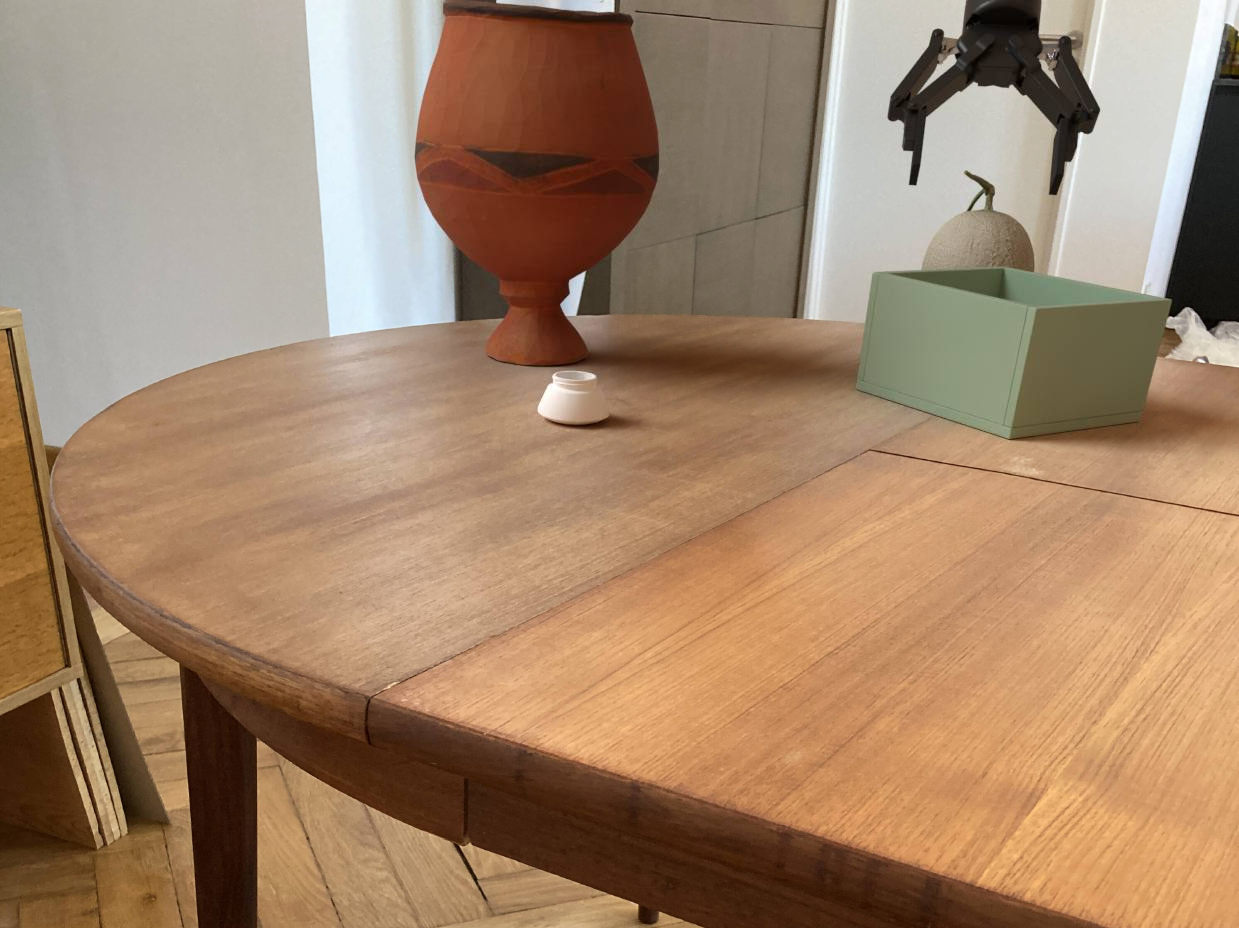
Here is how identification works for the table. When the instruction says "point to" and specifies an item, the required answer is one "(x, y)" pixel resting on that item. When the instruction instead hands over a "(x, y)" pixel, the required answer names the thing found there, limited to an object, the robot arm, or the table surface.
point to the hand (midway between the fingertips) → (984, 180)
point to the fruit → (980, 238)
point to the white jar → (574, 399)
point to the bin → (1010, 348)
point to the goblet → (536, 156)
